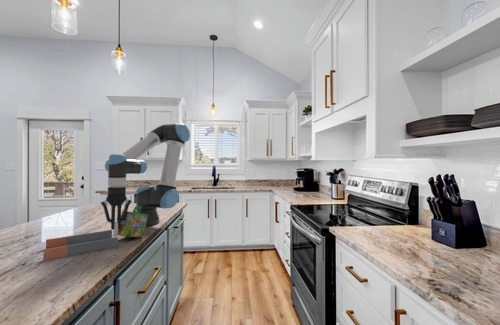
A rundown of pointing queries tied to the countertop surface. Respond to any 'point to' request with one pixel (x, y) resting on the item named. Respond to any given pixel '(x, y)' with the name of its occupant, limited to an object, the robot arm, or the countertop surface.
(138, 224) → the chalk box
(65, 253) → the channel
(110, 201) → the robot arm
